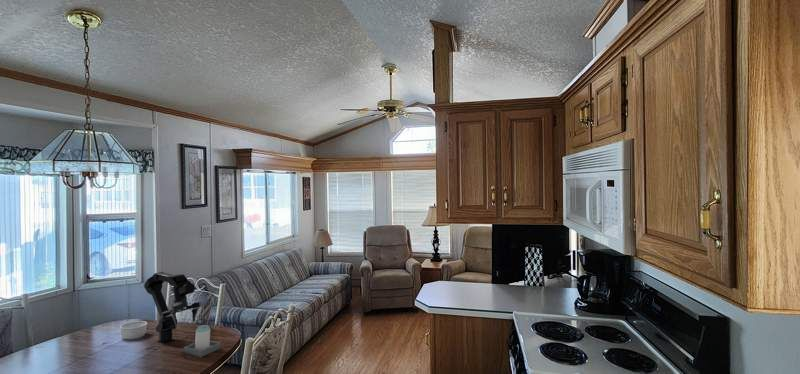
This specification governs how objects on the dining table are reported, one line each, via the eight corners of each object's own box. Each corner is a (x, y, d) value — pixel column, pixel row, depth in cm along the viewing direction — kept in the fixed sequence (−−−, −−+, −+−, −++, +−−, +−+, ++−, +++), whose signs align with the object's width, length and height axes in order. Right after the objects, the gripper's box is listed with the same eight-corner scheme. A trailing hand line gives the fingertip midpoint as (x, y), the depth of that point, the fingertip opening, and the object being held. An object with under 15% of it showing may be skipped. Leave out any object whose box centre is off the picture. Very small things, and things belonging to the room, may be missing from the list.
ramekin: (151, 335, 222) (151, 323, 222) (125, 342, 211) (126, 330, 211) (140, 330, 229) (141, 319, 229) (115, 337, 218) (116, 325, 218)
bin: (183, 352, 199) (183, 347, 199) (203, 344, 211) (203, 339, 211) (201, 357, 194) (201, 351, 195) (220, 348, 206) (220, 342, 206)
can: (212, 346, 206) (213, 324, 206) (204, 351, 199) (205, 329, 199) (200, 345, 206) (201, 324, 207) (191, 350, 199) (193, 328, 200)
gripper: (156, 302, 199) (160, 331, 196) (194, 292, 204) (199, 320, 201) (163, 301, 209) (168, 329, 206) (199, 292, 215) (204, 319, 212)
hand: (184, 324), depth 206 cm, fingers open, 9 cm apart
